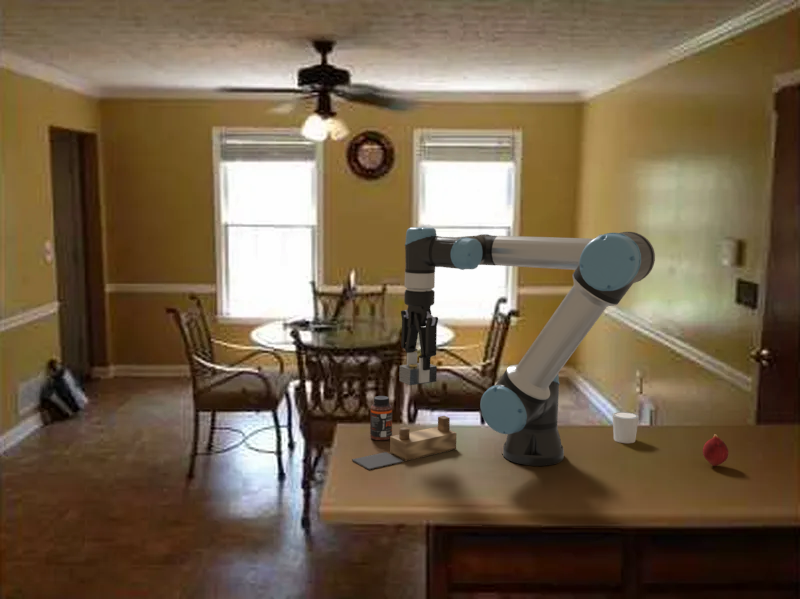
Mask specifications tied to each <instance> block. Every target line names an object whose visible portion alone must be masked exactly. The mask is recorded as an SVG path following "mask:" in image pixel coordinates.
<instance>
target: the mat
mask: <svg viewBox="0 0 800 599" xmlns="http://www.w3.org/2000/svg"><path fill="white" fill-rule="evenodd" d="M351 461H352V462H353V463H356V464H358V466H361V467H362V466H363V468H364V469H365V470H368V471H372V470H375V469H374V468H377V469H380V468H379V467H381V468H384V467H383V466H385V467H389V466H388V465H390V466H393V465H392V464H394V465H398V464H397V463H399V464H402V463H401V462H403V463H404V460H403V459H401V458H399V457H397V456H395V455H393V454H391V453H390V452H389V453H388V452H387V451H384V452H383V451H382V452H380V453H375V454H372V455H371V454H370V455H366V456H361V457H356V458H351ZM371 469H372V470H371Z"/></svg>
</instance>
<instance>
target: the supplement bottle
mask: <svg viewBox="0 0 800 599" xmlns="http://www.w3.org/2000/svg"><path fill="white" fill-rule="evenodd" d="M389 399H390V397H388V396H385V395H378V396H374V398H373V404H371V406H370V429H369V430H370V432H369V433H370V436H369V437H370V438H371V439H372V440H374V441H383V442H384V441H387V440H390V436H393V407H392V405H391V404H390V403H389V402H390V400H389Z"/></svg>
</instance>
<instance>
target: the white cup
mask: <svg viewBox="0 0 800 599" xmlns="http://www.w3.org/2000/svg"><path fill="white" fill-rule="evenodd" d="M611 416H612V430H613V440H614V441H615V442H616V443H620V444H621V443H622V444H633V443H635V442H636V439H637V431H638V424H639V415H638V414H637V413H634V412H633V413H632V412H627V411H617V412H613V413H612V415H611Z"/></svg>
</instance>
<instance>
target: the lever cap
mask: <svg viewBox="0 0 800 599" xmlns="http://www.w3.org/2000/svg"><path fill="white" fill-rule="evenodd" d="M437 367H438V366H437V365H434V364H431V363H430V373H429V382H425V383H419V362H417V364H409V365H407V364H402V365H399V371H398V372H399V379H398V380H399V382H401V383H403V384H405V385H409V386H415V385H416V386H417V385H421V384H422V385H423V384H429V383H435V382H437Z"/></svg>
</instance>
